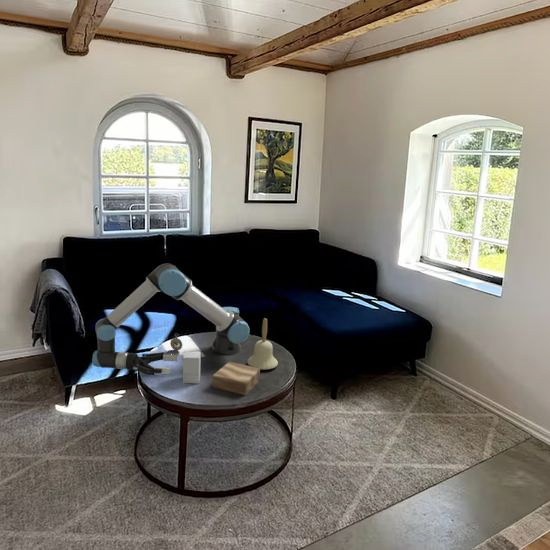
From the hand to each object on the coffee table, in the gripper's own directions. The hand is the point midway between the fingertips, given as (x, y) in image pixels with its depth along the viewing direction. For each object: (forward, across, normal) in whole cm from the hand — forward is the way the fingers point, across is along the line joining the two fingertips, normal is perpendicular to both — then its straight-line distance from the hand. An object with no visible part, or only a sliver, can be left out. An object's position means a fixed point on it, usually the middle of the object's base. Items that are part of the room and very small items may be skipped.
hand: (173, 364), depth 225 cm
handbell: (+40, -22, -7) cm, 46 cm away
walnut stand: (+29, 0, -7) cm, 30 cm away
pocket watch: (-7, -28, -7) cm, 30 cm away
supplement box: (+8, 0, -7) cm, 11 cm away
